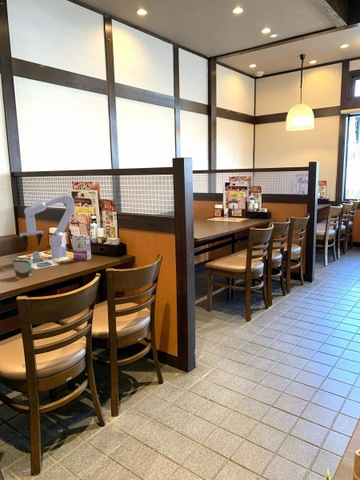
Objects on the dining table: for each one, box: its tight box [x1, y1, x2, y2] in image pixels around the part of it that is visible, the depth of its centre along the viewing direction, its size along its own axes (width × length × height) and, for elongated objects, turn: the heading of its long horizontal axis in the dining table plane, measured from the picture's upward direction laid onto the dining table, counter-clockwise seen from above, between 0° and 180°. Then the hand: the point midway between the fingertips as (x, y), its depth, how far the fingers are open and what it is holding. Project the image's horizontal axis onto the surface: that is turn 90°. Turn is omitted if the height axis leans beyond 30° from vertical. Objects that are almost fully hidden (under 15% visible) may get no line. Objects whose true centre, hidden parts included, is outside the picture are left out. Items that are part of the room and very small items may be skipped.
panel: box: [31, 257, 60, 270], centre depth 225 cm, size 15×24×2 cm, turn 41°
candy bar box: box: [71, 234, 92, 261], centre depth 233 cm, size 11×5×16 cm, turn 68°
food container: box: [12, 256, 33, 278], centre depth 200 cm, size 12×6×10 cm, turn 71°
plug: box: [32, 250, 41, 261], centre depth 230 cm, size 4×4×7 cm
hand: (33, 245), depth 233 cm, fingers open, 7 cm apart
